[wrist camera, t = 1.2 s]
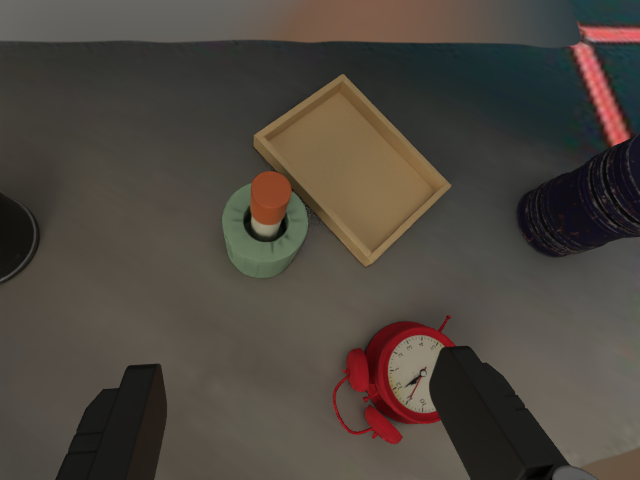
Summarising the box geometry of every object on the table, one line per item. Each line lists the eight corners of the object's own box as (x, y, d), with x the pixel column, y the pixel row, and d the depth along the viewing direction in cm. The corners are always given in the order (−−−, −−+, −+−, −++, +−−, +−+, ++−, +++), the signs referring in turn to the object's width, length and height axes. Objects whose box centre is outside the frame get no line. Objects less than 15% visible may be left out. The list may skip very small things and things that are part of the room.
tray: (253, 146, 44) (253, 134, 41) (338, 87, 48) (343, 73, 46) (365, 267, 42) (372, 262, 40) (441, 194, 47) (452, 185, 45)
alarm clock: (496, 393, 38) (389, 482, 30) (453, 391, 43) (354, 467, 36) (448, 299, 39) (337, 362, 32) (413, 309, 45) (310, 365, 37)
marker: (243, 242, 40) (242, 186, 26) (263, 225, 41) (273, 163, 27) (260, 261, 40) (269, 216, 25) (280, 244, 41) (300, 192, 26)
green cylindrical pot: (211, 241, 40) (203, 215, 32) (265, 199, 42) (270, 165, 34) (258, 293, 39) (261, 280, 31) (309, 247, 42) (325, 225, 34)
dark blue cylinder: (529, 175, 51) (673, 91, 34) (588, 213, 51) (760, 149, 34) (505, 231, 47) (651, 169, 30) (567, 272, 48) (747, 233, 31)
